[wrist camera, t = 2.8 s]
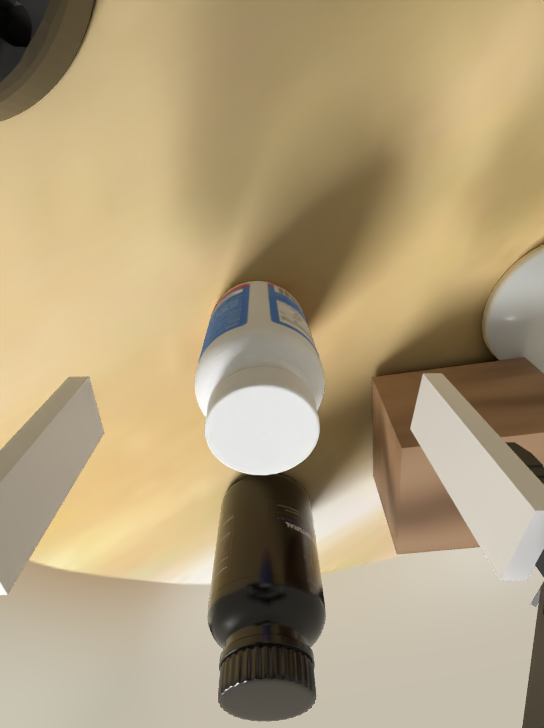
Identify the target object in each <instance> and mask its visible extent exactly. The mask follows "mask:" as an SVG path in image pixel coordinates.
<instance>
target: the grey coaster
mask: <svg viewBox="0 0 544 728" xmlns="http://www.w3.org/2000/svg"><path fill="white" fill-rule="evenodd" d="M482 333H483V338H484V341H485V343H486V346H487V347H488V349H489V351H490V352H491V353H492V354H493V355H494V356H495V357H496V358H497V359H498V360H500V361H501V360H509V359H517V358H524V357H525V358H526V359H527V360H529V361H530V362H531V363H532V364H533V365H534V366H536V367H537V368H538V369H539V370H540V371H541V372H542V373H544V244H543V245H541V246H539V247H537V248H535V249H534V250H532V251H530V252H529V253H527V254H526V255H524V256H523V257H522V258H520V259H519V260H518V261H517V262H516V263H514V264H513V265H512V266H511V267H510V268H509V269H508V270H507V271H506V272H505V273H504V275H503V276H502V277H501V278H500V280H499V281H498V282H497V284H496V285H495V287H494V289H493V290H492V292H491V294H490V296H489V298H488V300H487V303H486V306H485V309H484V313H483V318H482Z"/></svg>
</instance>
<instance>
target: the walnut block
mask: <svg viewBox="0 0 544 728" xmlns="http://www.w3.org/2000/svg"><path fill="white" fill-rule="evenodd" d="M423 373H442V374H443V375H444V376H445V377H446V378H447V379H448V380H449V382H450V383H451V384H452V385H453V386H454V387H455V388H456V389H457V390H458V391H459V393H460V394H461V395H462V396H463V397H464V398H465V399H466V400H467V401H468V402H469V403H470V405H471V406H472V407H473V408H474V409H475V410H476V411H477V412H478V413H479V414H480V415H481V417H482V418H483V419H484V420H485V421H486V422H487V423H488V424H489V425H490V426H491V427H492V429H493V430H494V431H495V432H496V433H497V434H498V435H499V436H500V437H501V438H502V440H503V441H504V442H515V443H517V444H518V445H520V446H521V447H523V448H524V449H526V450H528V451H529V452H531V453H532V454H533V455H534V456H535V457H536V458H537V459H538V460H539V461H540V462H541V463H542V464H543V467H544V373H542V372H541V371H540V370H539V369H538V368H537V367H536V366H534V365H533V364H532V363H531V362H530V361H529V360H527V359H526V358H525V357H524V358H517V359H509V360H501V361H493V362H485V363H478V364H470V365H462V366H454V367H447V368H439V369H431V370H423V371H416V372H408V373H400V374H392V375H384V376H377V377H372V412H373V476H374V479H375V483H376V486H377V489H378V493H379V496H380V499H381V503H382V506H383V509H384V513H385V516H386V519H387V523H388V526H389V529H390V533H391V536H392V539H393V543H394V546H395V549H396V553H397V554H406V553H418V552H428V551H440V550H452V549H463V548H474V547H480V546H479V544H478V543H477V541H476V539H475V537H474V536H473V534H472V532H471V531H470V529H469V527H468V526H467V524H466V522H465V521H464V519H463V517H462V515H461V514H460V512H459V510H458V509H457V507H456V505H455V504H454V502H453V500H452V499H451V497H450V495H449V494H448V492H447V490H446V488H445V487H444V485H443V483H442V482H441V480H440V478H439V477H438V475H437V473H436V472H435V470H434V468H433V466H432V465H431V463H430V461H429V460H428V458H427V456H426V455H425V453H424V451H423V450H422V448H421V446H420V445H419V443H418V441H417V439H416V438H415V436H414V434H413V433H412V431H411V429H410V427H411V423H412V419H413V414H414V410H415V406H416V401H417V397H418V393H419V388H420V384H421V380H422V375H423Z"/></svg>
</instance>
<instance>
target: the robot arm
mask: <svg viewBox="0 0 544 728" xmlns="http://www.w3.org/2000/svg"><path fill="white" fill-rule="evenodd" d="M93 3H94V0H0V121H3V120H6V119H9V118H11V117H13V116H15V115H18V114H20V113H21V112H23V111H25V110H27V109H28V108H30V107H31V106H33V105H34V104H35V103H37V102H38V101H39V100H41V99H42V98H43V97H44V96H45V95H46V94H47V93H48V92H49V91H50V90H51V89H52V88H53V87H54V86H55V85H56V84H57V83H58V81H59V80H60V79H61V77H62V76H63V75H64V73H65V72H66V70H67V69H68V67H69V66H70V64H71V62H72V61H73V59H74V57H75V55H76V53H77V51H78V49H79V47H80V44H81V42H82V39H83V37H84V34H85V32H86V29H87V26H88V22H89V19H90V16H91V12H92V7H93ZM410 429H411V431H412V433H413V434H414V436H415V438H416V439H417V441H418V443H419V445H420V446H421V448H422V450H423V451H424V453H425V455H426V456H427V458H428V460H429V461H430V463H431V465H432V466H433V468H434V470H435V472H436V473H437V475H438V477H439V478H440V480H441V482H442V483H443V485H444V487H445V488H446V490H447V492H448V494H449V495H450V497H451V499H452V500H453V502H454V504H455V505H456V507H457V509H458V510H459V512H460V514H461V515H462V517H463V519H464V521H465V522H466V524H467V526H468V527H469V529H470V531H471V532H472V534H473V536H474V537H475V539H476V541H477V543H478V544H479V546H480V547H481V549H482V551H483V553H484V554H485V556H486V558H487V559H488V561H489V563H490V564H491V566H492V568H493V569H494V571H495V573H496V574H497V576H498V578H499V580H500V581H516V580H517V581H518V580H528V579H529V577H530V575H531V573H532V572H533V570H534V568H535V566H536V567H537V568H538V570H539V571H540V573H541V574H542V575H543V577H544V467H543V464H542V463H541V462H540V461H539V460H538V459H537V458H536V457H535V456H534V455H533V454H532V453H531V452H529V451H528V450H526V449H524V448H523V447H521V446H520V445H518V444H517V443H515V442H504V441H503V440H502V438H501V437H500V436H499V435H498V434H497V433H496V432H495V431H494V430H493V429H492V427H491V426H490V425H489V424H488V423H487V422H486V421H485V420H484V419H483V418H482V417H481V415H480V414H479V413H478V412H477V411H476V410H475V409H474V408H473V407H472V406H471V405H470V403H469V402H468V401H467V400H466V399H465V398H464V397H463V396H462V395H461V394H460V393H459V391H458V390H457V389H456V388H455V387H454V386H453V385H452V384H451V383H450V382H449V380H448V379H447V378H446V377H445V376H444V375H443V374H442V373H423V375H422V380H421V384H420V388H419V393H418V397H417V401H416V406H415V410H414V414H413V419H412V423H411V427H410ZM103 434H104V431H103V427H102V423H101V419H100V416H99V412H98V408H97V404H96V400H95V397H94V393H93V389H92V385H91V382H90V378H89V377H68V379H67V380H66V381H65V382H64V383H63V384H62V385H61V386H60V387H59V388H58V389H57V390H56V391H55V392H54V394H53V395H52V396H51V397H50V398H49V399H48V400H47V401H46V402H45V403H44V404H43V405H42V406H41V407H40V408H39V410H38V411H37V412H36V413H35V414H34V415H33V416H32V417H31V418H30V419H29V420H28V421H27V422H26V423H25V425H24V426H23V427H22V428H21V429H20V430H19V431H18V432H17V433H16V434H15V435H14V436H13V437H12V438H11V440H10V441H9V442H8V443H7V444H6V445H5V446H4V447H3V448H2V449H1V450H0V595H8V593H9V592H10V590H11V588H12V587H13V585H14V583H15V582H16V580H17V578H18V577H19V575H20V573H21V571H22V570H23V568H24V566H25V565H26V563H27V562H28V560H29V558H30V556H31V555H32V553H33V551H34V550H35V548H36V546H37V545H38V543H39V541H40V540H41V538H42V536H43V535H44V533H45V531H46V530H47V528H48V526H49V525H50V523H51V521H52V520H53V518H54V516H55V515H56V513H57V511H58V510H59V508H60V506H61V505H62V503H63V501H64V500H65V498H66V496H67V494H68V493H69V491H70V489H71V488H72V486H73V484H74V483H75V481H76V479H77V478H78V476H79V474H80V473H81V471H82V469H83V468H84V466H85V464H86V463H87V461H88V459H89V458H90V456H91V454H92V453H93V451H94V449H95V448H96V446H97V444H98V443H99V441H100V439H101V438H102V436H103ZM538 602H539V605H538V613H537V620H536V628H535V636H534V643H533V651H532V659H531V666H530V673H529V681H528V688H527V696H526V704H525V711H524V719H523V726H522V728H544V582H543V584H542V586H541V587H540V589H539V591H538V593H537V594H536V596H535V597H534V599H533V601H532V603H531V604H532V605H533V606H535V607H536V606H537V604H538Z"/></svg>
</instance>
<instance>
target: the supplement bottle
mask: <svg viewBox="0 0 544 728" xmlns="http://www.w3.org/2000/svg"><path fill="white" fill-rule="evenodd" d="M325 614H326V613H325V603H324V596H323V588H322V581H321V574H320V567H319V560H318V552H317V545H316V538H315V531H314V524H313V517H312V511H311V505H310V500H309V497H308V495H307V493H306V491H305V490H304V489H303V488H302V487H301V486H300V485H299V484H298V483H297V482H295V481H294V480H292V479H290V478H288V477H286V476H283V475H279V474H269V475H251V476H248V477H245V478H243V479H241V480H239V481H238V482H236V483H235V484H234V485H232V486H231V487H230V489H229V490H228V491H227V492H226V494H225V496H224V498H223V502H222V506H221V513H220V520H219V528H218V536H217V543H216V551H215V559H214V567H213V574H212V582H211V590H210V598H209V606H208V624H209V628H210V631H211V633H212V636H213V638H214V639H215V641H216V642H217V643H218V644H219V646H220V647H222V648H223V649H224V650H223V651H222V653H221V656H220V663H219V670H220V680H219V692H218V702H219V703H220V707H221V708H223V710H224V711H226V712H228V713H229V714H231V715H233V716H235V717H238V718H241V719H246V720H251V721H278V720H285V719H288V718H293V717H295V716H297V715H301V714H302V713H304V712H307V711H308V709H310V708H312V705H313V704H314V703H315V700H316V688H315V678H314V655H313V652H312V649H311V648H310V647H311V646H312V645H313V644H314V643H315V642H316V641H317V639H318V638H319V636H320V634H321V633H322V630H323V627H324V624H325V617H326V615H325Z"/></svg>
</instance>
